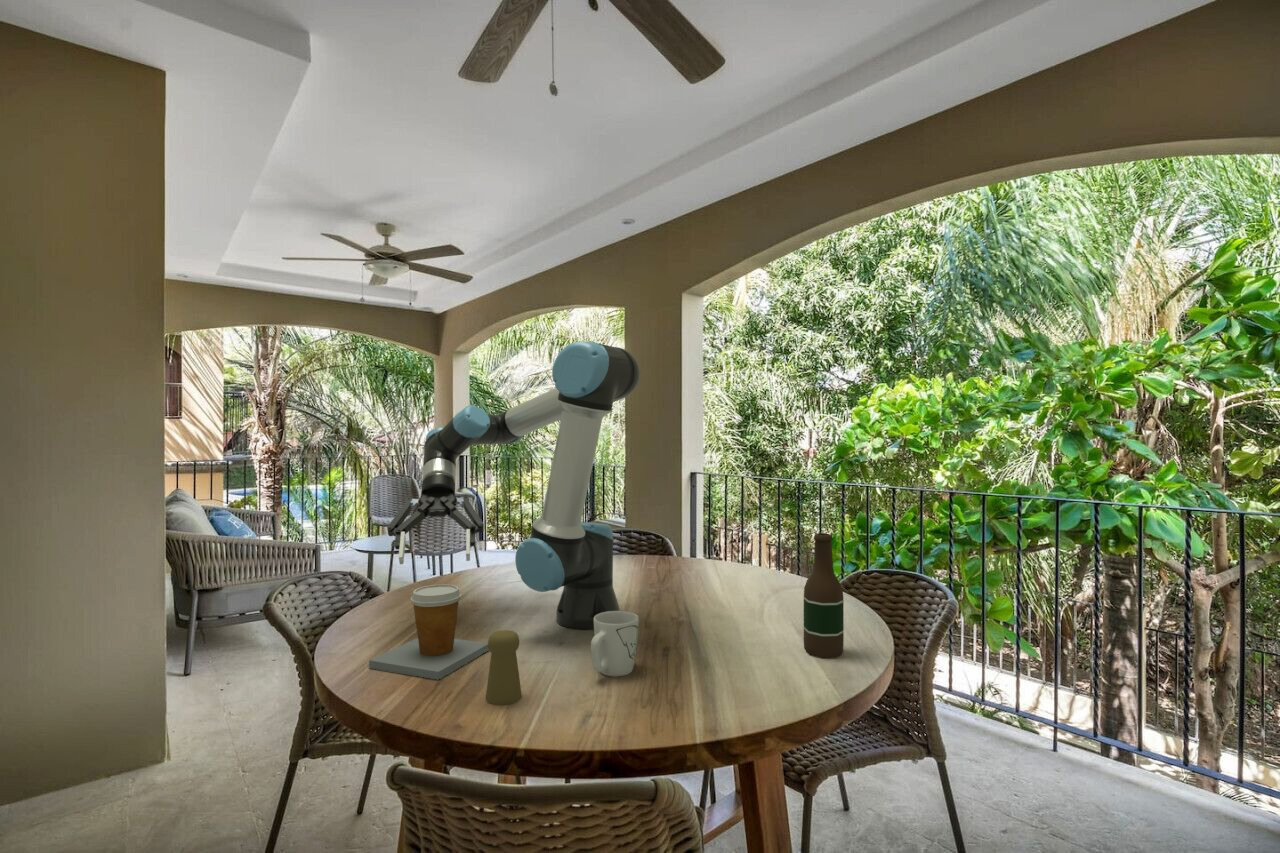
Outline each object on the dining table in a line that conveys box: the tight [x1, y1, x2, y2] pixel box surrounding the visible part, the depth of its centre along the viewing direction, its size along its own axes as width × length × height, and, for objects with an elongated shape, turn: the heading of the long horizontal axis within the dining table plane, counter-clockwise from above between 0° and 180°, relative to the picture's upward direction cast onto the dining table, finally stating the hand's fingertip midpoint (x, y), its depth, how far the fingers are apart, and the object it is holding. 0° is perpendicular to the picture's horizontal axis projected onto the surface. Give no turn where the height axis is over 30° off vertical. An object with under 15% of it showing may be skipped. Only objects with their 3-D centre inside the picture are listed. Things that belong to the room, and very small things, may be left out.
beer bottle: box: [803, 532, 845, 659], centre depth 128 cm, size 8×8×24 cm
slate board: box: [368, 637, 490, 681], centre depth 124 cm, size 16×16×2 cm
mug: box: [590, 610, 640, 678], centre depth 117 cm, size 11×8×10 cm
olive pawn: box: [485, 629, 523, 706], centre depth 107 cm, size 6×6×11 cm
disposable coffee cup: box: [410, 584, 462, 656], centre depth 124 cm, size 10×10×12 cm
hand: (434, 559), depth 134 cm, fingers open, 13 cm apart
